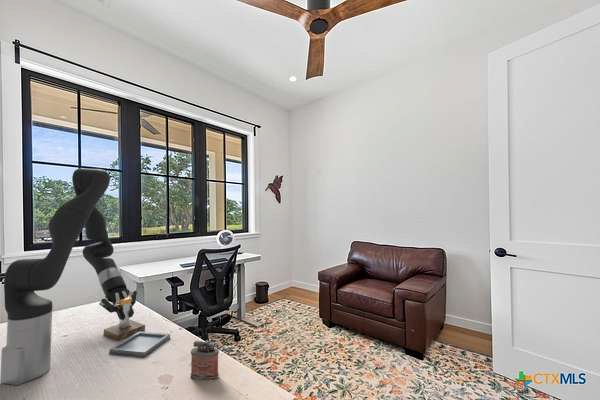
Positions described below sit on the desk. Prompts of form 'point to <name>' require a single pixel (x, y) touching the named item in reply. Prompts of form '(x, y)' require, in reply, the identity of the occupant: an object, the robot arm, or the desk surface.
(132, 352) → the tray
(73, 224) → the robot arm
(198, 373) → the lighter
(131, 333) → the socket plate
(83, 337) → the desk surface
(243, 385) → the desk surface
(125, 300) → the key
